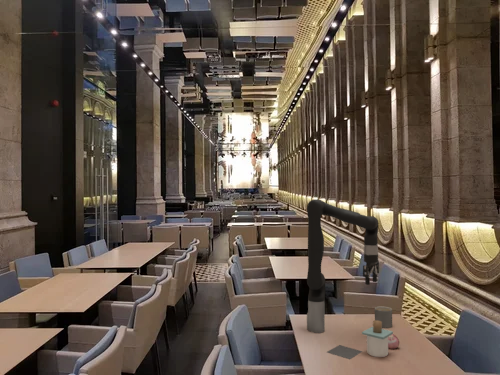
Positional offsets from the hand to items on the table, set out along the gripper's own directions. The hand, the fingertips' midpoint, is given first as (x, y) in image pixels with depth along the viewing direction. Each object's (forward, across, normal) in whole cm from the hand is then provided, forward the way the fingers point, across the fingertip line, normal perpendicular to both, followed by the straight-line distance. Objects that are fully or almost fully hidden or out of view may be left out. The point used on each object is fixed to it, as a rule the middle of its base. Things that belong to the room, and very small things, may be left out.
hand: (371, 283), depth 221 cm
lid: (+20, +17, +12) cm, 29 cm away
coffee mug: (+30, -27, -6) cm, 41 cm away
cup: (+30, +18, +12) cm, 37 cm away
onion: (+30, +5, +13) cm, 33 cm away
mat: (+30, +26, -2) cm, 40 cm away
